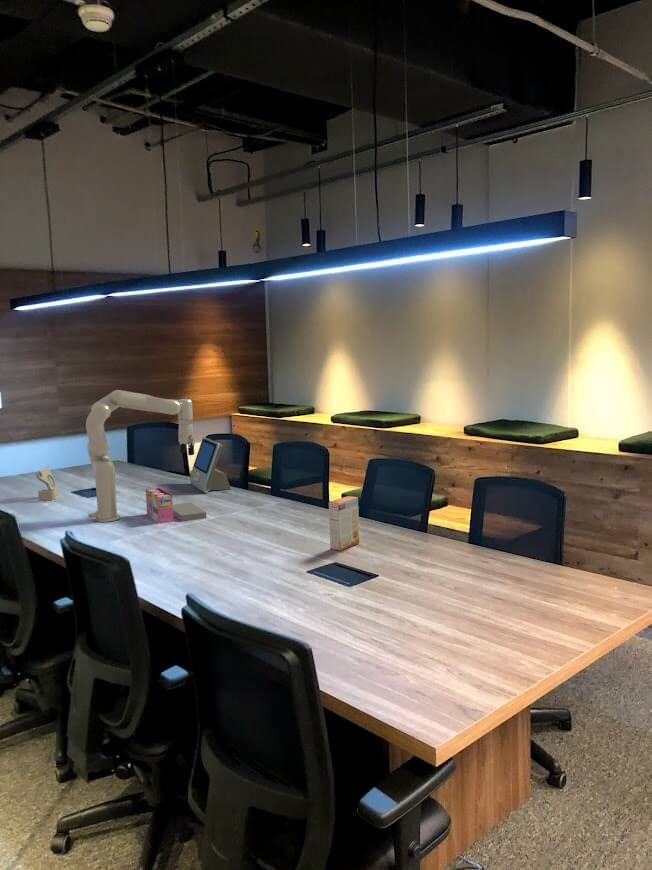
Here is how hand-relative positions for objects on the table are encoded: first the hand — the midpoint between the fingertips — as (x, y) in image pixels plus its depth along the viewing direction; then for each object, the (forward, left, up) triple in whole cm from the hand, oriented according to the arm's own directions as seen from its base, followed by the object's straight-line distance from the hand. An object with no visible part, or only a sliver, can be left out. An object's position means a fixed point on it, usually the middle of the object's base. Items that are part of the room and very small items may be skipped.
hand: (187, 453), depth 384 cm
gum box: (-19, -11, -31) cm, 38 cm away
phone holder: (-62, +72, -30) cm, 100 cm away
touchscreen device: (+28, +50, -30) cm, 65 cm away
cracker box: (+37, -107, -30) cm, 117 cm away
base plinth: (-5, -11, -30) cm, 32 cm away
